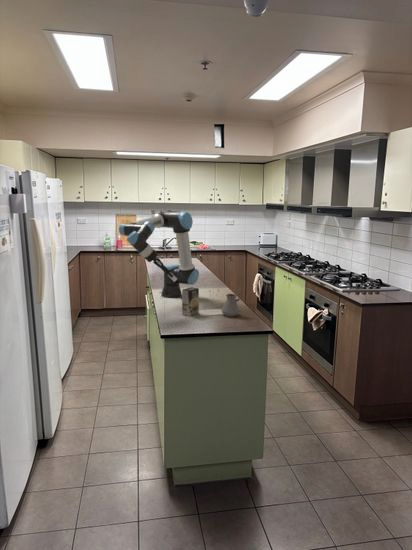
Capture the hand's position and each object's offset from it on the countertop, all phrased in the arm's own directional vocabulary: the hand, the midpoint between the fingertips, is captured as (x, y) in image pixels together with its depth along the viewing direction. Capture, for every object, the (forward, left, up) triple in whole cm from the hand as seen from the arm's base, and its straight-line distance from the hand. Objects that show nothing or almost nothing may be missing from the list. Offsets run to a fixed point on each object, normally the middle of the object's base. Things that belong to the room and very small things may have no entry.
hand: (175, 280), depth 243 cm
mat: (0, +24, -22) cm, 33 cm away
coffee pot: (+13, +33, -22) cm, 42 cm away
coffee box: (0, +10, -22) cm, 24 cm away
